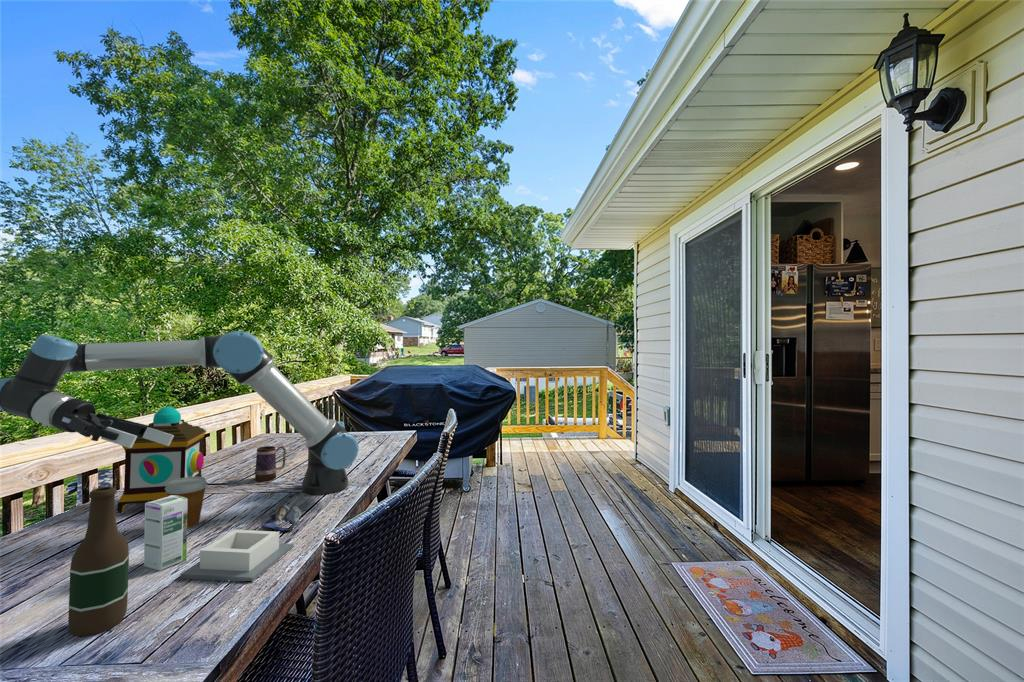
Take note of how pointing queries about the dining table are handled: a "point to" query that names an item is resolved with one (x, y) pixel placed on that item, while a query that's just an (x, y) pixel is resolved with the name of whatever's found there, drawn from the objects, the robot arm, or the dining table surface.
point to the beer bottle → (99, 570)
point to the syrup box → (165, 532)
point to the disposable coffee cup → (189, 495)
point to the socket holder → (238, 556)
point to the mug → (267, 463)
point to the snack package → (282, 517)
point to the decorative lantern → (161, 459)
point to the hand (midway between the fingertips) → (153, 441)
